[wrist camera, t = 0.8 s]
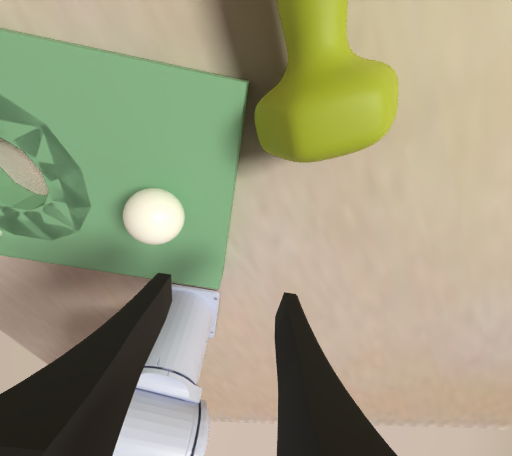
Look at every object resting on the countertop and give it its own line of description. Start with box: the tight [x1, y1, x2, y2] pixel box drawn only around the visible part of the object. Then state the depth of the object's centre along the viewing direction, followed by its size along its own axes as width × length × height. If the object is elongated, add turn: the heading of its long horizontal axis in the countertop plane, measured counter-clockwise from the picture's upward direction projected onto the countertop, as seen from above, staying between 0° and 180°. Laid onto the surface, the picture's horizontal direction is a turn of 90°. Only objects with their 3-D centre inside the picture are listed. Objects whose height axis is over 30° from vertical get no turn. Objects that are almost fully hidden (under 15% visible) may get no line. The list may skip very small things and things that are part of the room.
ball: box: [123, 188, 185, 245], centre depth 17 cm, size 4×4×4 cm
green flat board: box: [0, 28, 249, 289], centre depth 19 cm, size 18×23×2 cm
